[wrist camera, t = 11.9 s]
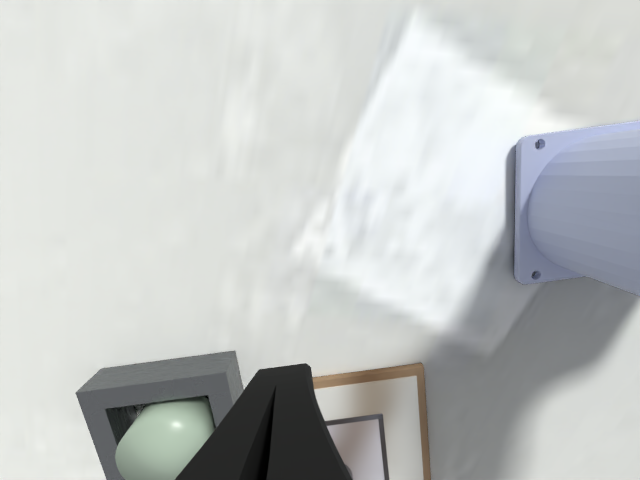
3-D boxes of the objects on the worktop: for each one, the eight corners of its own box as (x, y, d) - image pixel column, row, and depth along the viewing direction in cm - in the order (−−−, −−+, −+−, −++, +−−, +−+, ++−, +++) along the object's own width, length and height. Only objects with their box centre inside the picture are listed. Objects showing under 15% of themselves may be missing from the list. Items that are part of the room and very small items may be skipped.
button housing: (235, 350, 18) (225, 372, 16) (258, 459, 20) (252, 491, 18) (101, 368, 18) (75, 392, 16) (136, 476, 20) (117, 509, 18)
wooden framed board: (421, 363, 18) (424, 369, 18) (429, 491, 21) (433, 500, 20) (275, 382, 18) (274, 389, 18) (299, 508, 21) (298, 518, 20)
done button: (210, 383, 18) (194, 418, 15) (226, 446, 19) (212, 489, 16) (133, 393, 18) (104, 430, 15) (153, 456, 19) (128, 500, 16)
